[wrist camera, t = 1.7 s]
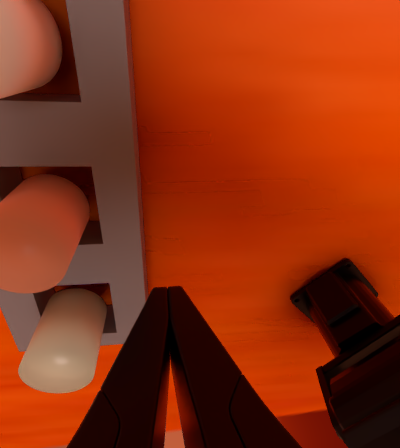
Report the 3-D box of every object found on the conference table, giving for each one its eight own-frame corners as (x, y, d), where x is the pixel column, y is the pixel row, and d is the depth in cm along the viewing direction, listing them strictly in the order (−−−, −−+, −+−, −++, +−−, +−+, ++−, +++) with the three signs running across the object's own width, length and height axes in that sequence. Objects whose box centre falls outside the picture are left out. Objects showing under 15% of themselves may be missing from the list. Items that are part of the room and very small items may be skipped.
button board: (149, 314, 26) (148, 341, 24) (33, 321, 25) (19, 351, 23) (125, -53, 14) (117, -77, 11) (-110, -75, 13) (-178, -107, 10)
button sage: (118, 306, 22) (108, 368, 18) (84, 335, 23) (66, 400, 19) (70, 278, 20) (46, 340, 16) (35, 311, 21) (3, 377, 17)
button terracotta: (104, 206, 18) (87, 255, 13) (63, 248, 19) (34, 306, 14) (41, 158, 16) (-4, 198, 11) (-1, 208, 17) (-56, 261, 13)
